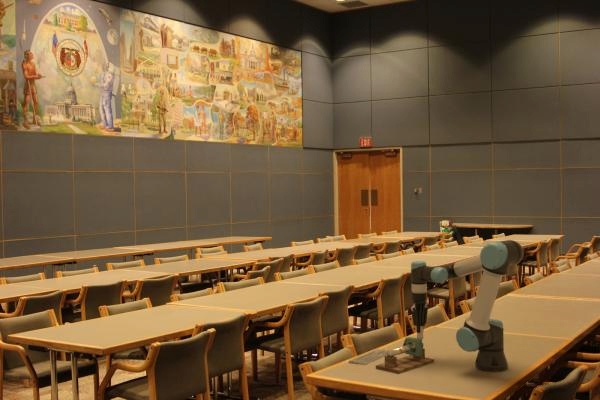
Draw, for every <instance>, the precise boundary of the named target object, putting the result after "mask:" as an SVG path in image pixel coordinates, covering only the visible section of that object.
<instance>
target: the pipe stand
mask: <svg viewBox="0 0 600 400" xmlns="http://www.w3.org/2000/svg"><path fill="white" fill-rule="evenodd" d="M433 363H435V358H429V357H426V348H424V347H423V348H422V356H414V355H409V354H408V355H407V356H403V357H399V358H398V357H397V356H396V355H395V356H392V357H388V356H385V357H384V362H383V363H380V364H376V365H375V369H376V370H381V371H383V372H384V371H385V372H389V373H393V374H396V375H398V374H402V373H405V372H408V371H412V370H415V369H418V368H421V367H424V366H428V365H430V364H433Z"/></svg>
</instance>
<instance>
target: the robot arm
mask: <svg viewBox="0 0 600 400" xmlns="http://www.w3.org/2000/svg"><path fill="white" fill-rule="evenodd" d="M523 258H524V248H523V246H522V245H521V244H520V243H519V242H518V241H516V240H513V239H508V240H501V241H497V240H496V241H492V242H489V243H487V244H485V245H484V246H482V248H481V250H480V253H479V254H478V255H475V256H472V257H468V258H466V259H462V260H459V261H456V262H453V263H449V264H444V265H437V266H429V265H428V266H427V261H424V260H415V261H412V262H411V263H410V264H411V265H410V277H411V279H410V280H411V300H412V301H413V302H412V306H410V307H409V311H410V313H411V318H412V323H413V326H414V327H416V338H418V339H422V340H424V327H425V326H426V324H427V320H428V312H429V307H430V305H429V304H427V302H426V301H427V300H428V293H427V291H428V288H427V286H428V284H427V282H429V283H431V282H432V283H437V284H439V283H441V284H442V283H445V282H446V281H449V280H457V279H459V278H462V277H465V276H467V275H471V274H474V273H479V272H482V271H483V273H482V275H481V278H480V282H479V285H478V289H477V292H476V295H475V297H474V298H475V299H474V300H473V301H474V302H473V305H472V308H471V311H470V314H469V316H468V317H466V318H465V319H464V323H463V326H461V327H459V328H458V329H457V331H456V334H455V340H456V342H457V344H458V347H460V349H462V350H463V351H464V352H468V353H471V352H477V355H476V357H475V362H474V365H475V366H474V367H475V368H476V369H478V370H480V371H484V372H485V371H487V372H502V371H507V369H509V362H508V361H507V356H506V355H505V349H504V347H505V346H504V344H505V343H504V341H505V340H504V323H503V321H502V320H499V319H493V318H491V316H492V313H493V308H494V305H495V303H496V302H495V301H496V298H497V296H498V292H499V289H500V286H501V282H502V280H503V277H505V276H507V275H508V273H509V269H510V267H512V266H515V265H517V264H519V263H521V261H522V260H523Z"/></svg>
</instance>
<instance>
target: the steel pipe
mask: <svg viewBox="0 0 600 400" xmlns="http://www.w3.org/2000/svg"><path fill="white" fill-rule="evenodd" d="M423 345H424V343H423V344H422V346H423ZM423 347H424V346H423ZM413 350H416V346H415V343H413V344H409V345H406V346H403V345H401V346H398V347H395V348H392V349H388V350H386V351H387V356H388V357H392V356H395V357H396V356H398V355H401V354H406V352H409V351H413Z"/></svg>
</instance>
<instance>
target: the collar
mask: <svg viewBox="0 0 600 400" xmlns="http://www.w3.org/2000/svg"><path fill="white" fill-rule="evenodd" d="M404 340H405V342H406V345H409V344H412V343H415V346H416V350H413V351H409V352H406V353H405V354H406V355H408V356H409V355H414V356H422V343H423V339H418V338H417V337H412V336H408V337H405V339H404Z"/></svg>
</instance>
